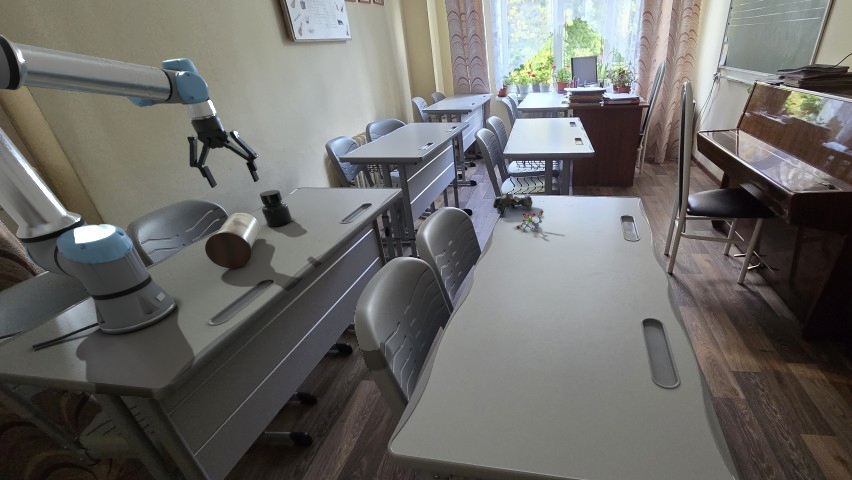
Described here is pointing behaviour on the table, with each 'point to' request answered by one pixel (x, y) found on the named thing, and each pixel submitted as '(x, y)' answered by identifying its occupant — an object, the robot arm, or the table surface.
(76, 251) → the robot arm
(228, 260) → the towel holder
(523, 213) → the molecular model
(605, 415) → the table surface
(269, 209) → the ink bottle
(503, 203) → the dark grey lumpy piece
